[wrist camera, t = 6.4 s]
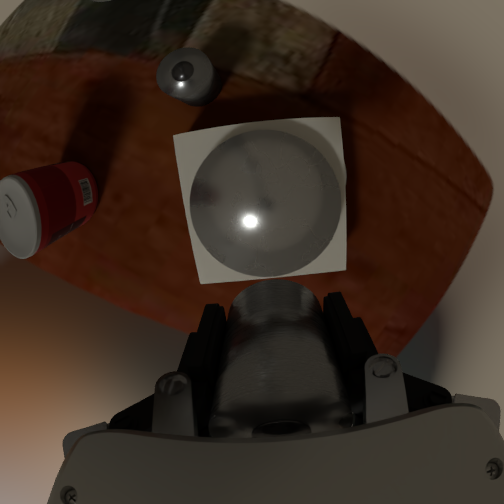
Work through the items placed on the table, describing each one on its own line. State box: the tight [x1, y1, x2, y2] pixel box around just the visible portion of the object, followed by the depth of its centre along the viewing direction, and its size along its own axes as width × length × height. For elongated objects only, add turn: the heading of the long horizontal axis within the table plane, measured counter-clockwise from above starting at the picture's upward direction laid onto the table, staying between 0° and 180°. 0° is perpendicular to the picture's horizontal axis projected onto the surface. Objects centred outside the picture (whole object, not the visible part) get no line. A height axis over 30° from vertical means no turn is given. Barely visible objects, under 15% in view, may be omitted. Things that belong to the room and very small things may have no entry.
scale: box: [173, 117, 346, 284], centre depth 24 cm, size 14×14×4 cm
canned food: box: [0, 161, 98, 259], centre depth 21 cm, size 8×8×11 cm
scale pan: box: [190, 130, 341, 277], centre depth 22 cm, size 12×12×1 cm
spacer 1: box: [157, 48, 222, 107], centre depth 19 cm, size 4×4×6 cm
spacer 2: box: [208, 279, 353, 438], centre depth 9 cm, size 4×4×6 cm
